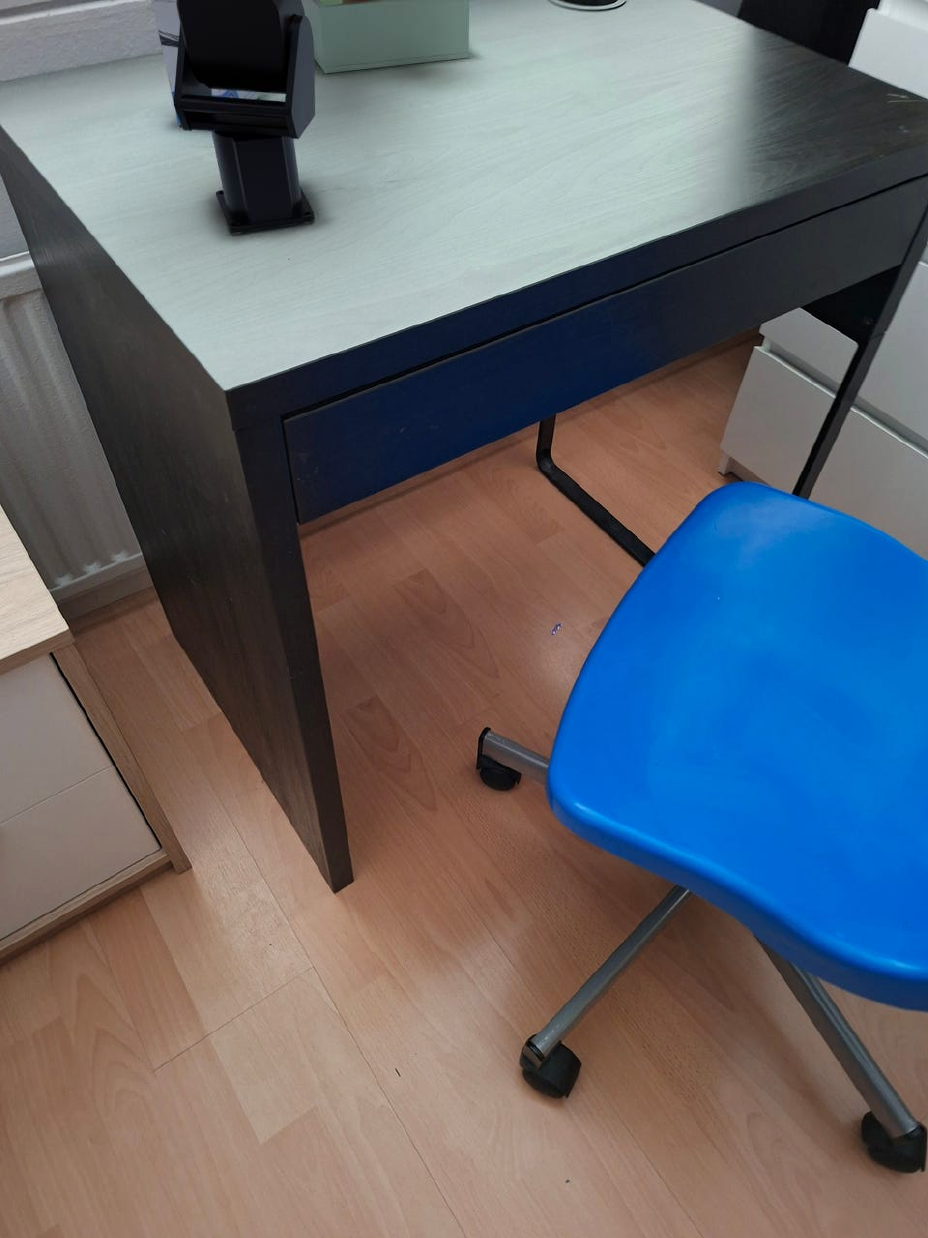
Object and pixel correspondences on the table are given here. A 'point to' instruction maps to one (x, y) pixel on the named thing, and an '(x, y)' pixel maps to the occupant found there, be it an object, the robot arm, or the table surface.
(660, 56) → the table surface
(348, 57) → the tub
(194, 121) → the robot arm
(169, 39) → the ink box
